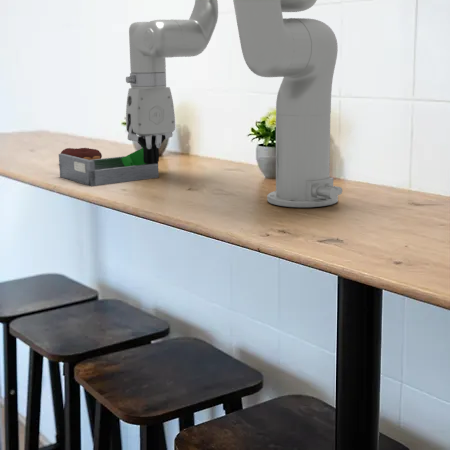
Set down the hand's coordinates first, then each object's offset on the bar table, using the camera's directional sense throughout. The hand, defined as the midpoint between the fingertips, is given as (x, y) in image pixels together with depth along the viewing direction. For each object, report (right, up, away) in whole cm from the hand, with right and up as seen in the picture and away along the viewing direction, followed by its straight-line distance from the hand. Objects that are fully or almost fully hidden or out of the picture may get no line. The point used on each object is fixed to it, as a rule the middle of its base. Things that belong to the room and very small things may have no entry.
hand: (151, 165), depth 170 cm
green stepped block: (-2, -1, +3) cm, 4 cm away
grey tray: (-9, -3, -3) cm, 10 cm away
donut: (-19, +1, +17) cm, 25 cm away
